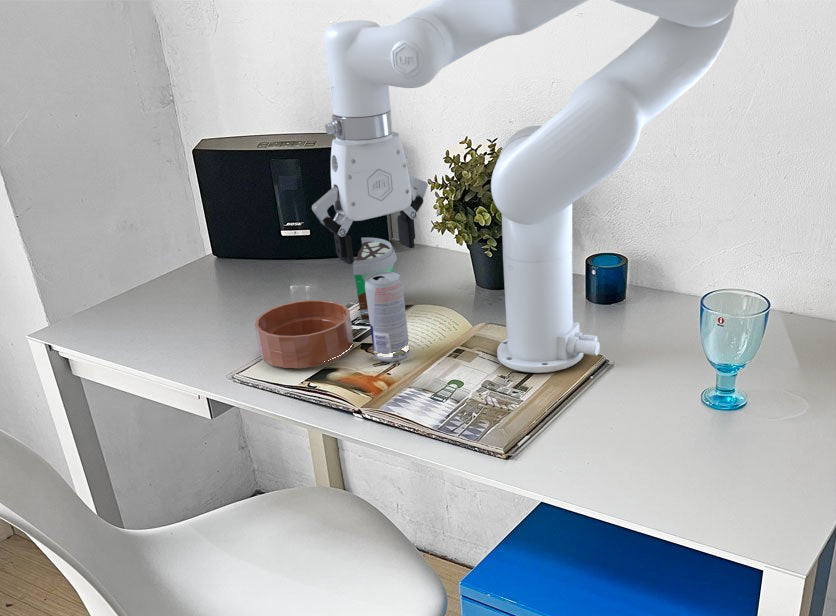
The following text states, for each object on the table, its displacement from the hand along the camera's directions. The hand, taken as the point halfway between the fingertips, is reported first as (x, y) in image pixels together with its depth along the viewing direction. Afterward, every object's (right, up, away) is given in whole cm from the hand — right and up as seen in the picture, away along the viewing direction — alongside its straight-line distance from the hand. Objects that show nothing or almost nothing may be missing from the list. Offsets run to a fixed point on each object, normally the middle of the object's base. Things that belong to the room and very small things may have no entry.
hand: (377, 253), depth 138 cm
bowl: (-12, -12, +11) cm, 20 cm away
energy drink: (+1, -13, +8) cm, 16 cm away
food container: (-2, -3, +25) cm, 25 cm away
